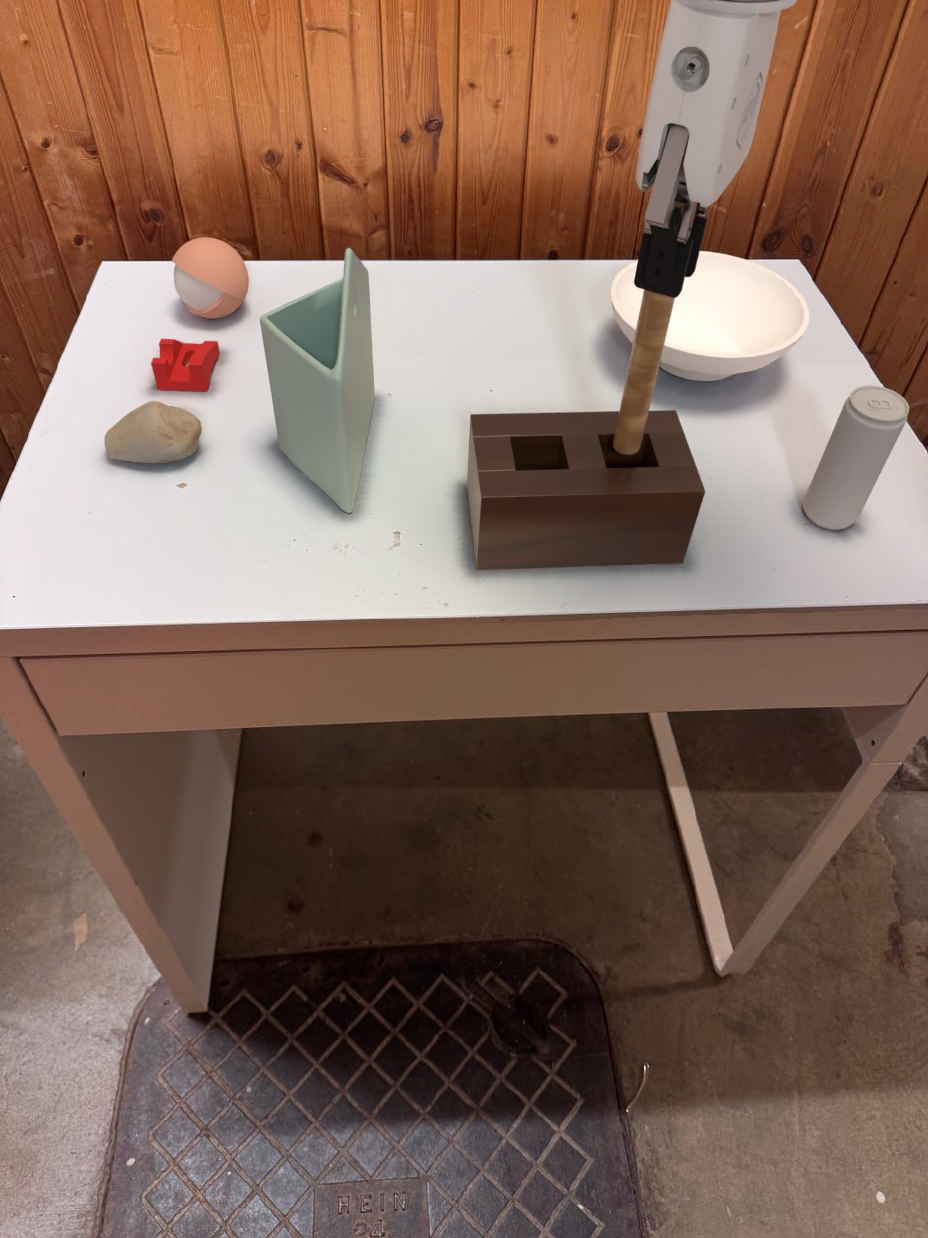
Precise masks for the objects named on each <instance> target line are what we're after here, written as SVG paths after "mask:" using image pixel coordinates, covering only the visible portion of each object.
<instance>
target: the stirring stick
mask: <svg viewBox="0 0 928 1238" xmlns="http://www.w3.org/2000/svg"><path fill="white" fill-rule="evenodd" d="M684 206H685V204H684V203H680V202H677V201H674V207H678V208H681V211H682V215H683V211H684ZM674 300H675V298H672V297H669V296H665V295H662V294H658V293H655V292H651V291H648V290H644V292H643V297H642V302H641V307H640V312H639V317H638V322H637V327H636V332H635V337H634V342H633V344H632V347H631V352H630V358H629V361H628V367H627V372H626V377H625V382H624V387H623V392H622V397H621V401H620V407H619V410H618V411H619V416H618V421H617V426H616V431H615V436H614V441H613V447H614V449H615V450H616V451H617V452H619V453H621V454H625V455H632V454H635V453H637V452H638V451H639V450H640V447H641V443H642V439H643V434H644V430H645V426H646V421H647V417H648V413H649V411H650V407H651V404H652V403H651V402H652V399H653V395H654V390H655V386H656V382H657V379H658V378H657V377H658V373H659V369H660V367H659V365H660V361H661V357H662V352H663V348H664V344H665V339H666V335H667V331H668V326H669V322H670V318H671V313H672V309H673V305H674Z"/></svg>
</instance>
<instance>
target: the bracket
mask: <svg viewBox="0 0 928 1238" xmlns="http://www.w3.org/2000/svg"><path fill="white" fill-rule="evenodd" d="M158 346H159V357H152V360H151V362H150V366H151V369H152V374H153V377H154V381H155V384H156V389H157V391H178V392H179V391H180V392H200V393H201V392H204V393H205V392H206V393H207V392H208V391H209V389H210V385H211V382H210V381H211V380H210V379H211V374H212V373H213V372H212V371H213V369H214V366H215V362H218V361H219V358H220V354H221V352H220V348H219V342H218V340H203V342H201V343H195V342H193V343H192V342H191V343H189V342H182V341H179V340H177V339H175V338H160V339H159V343H158Z"/></svg>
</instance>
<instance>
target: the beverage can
mask: <svg viewBox="0 0 928 1238" xmlns="http://www.w3.org/2000/svg"><path fill="white" fill-rule="evenodd" d="M909 412H910V406H909V403H908V401H907V400H906V399H905V398H904V397H903V396H902V395H901V394H900V393H898V392H897V391H894V390H893V389H890V388H887V387H884V386H880V385H871V384H870V385H862V386H858V387H856V388H854V389H853V390H852V391H851V392H850V393H849V396H848V397H847V399H845V401H844V403H843V406H842V409H841V410H840V413H839V415H838V418H837V420H836V423H835V425H834V428H833V430H832V432H831V434H830V437H829V439H828V441H827V444H826V446H825V449H824V450H823V453H822V455H821V458H820V460H819V463H818V465H817V468H816V470H815V472H814V474H813V477H812V478H811V482H810V483H809V487H808V489H807V491H806V494H805V495H804V498H803V503H802V507H803V511H804V513H805V515H806V516H807V518H808V519H809V520H810V521H811V523H814V524H815V525H816V526H818V527H821V528H823V529H827V530H832V531H838V530H843V529H847V528H848V527H850V526H852V525H854V524H855V523H856V522H857V521H858V520H859V517H860V515H861V514H862V511H863V509H864V508H865V505H866V503H867V502H868V499H869V498H870V495H871V493H872V491H873V489H874V487H875V485H876V483H877V482H878V479H879V478H880V476H881V473H882V471H883V469H884V467H885V465H886V463H887V461H888V460H889V457H890V455H891V454H892V451H893V449H894V447H895V445H896V443H897V441H898V439H899V437H900V435H901V433H902V431H903V429H904V427H905V425H906V423H907V420H908V414H909Z"/></svg>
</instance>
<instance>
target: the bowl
mask: <svg viewBox="0 0 928 1238" xmlns="http://www.w3.org/2000/svg"><path fill="white" fill-rule="evenodd" d="M637 263H638V259H636V260H634V261H632V262H629V263H627V265H625V266H624V267H623V268H622V269H620V270H618V273H617V274H616V275H615V276H614V278H613V279H612V282H611V286H610V291H609V292H610V304H611V309H612V314H613V316H614V319H615V320H616V323H617V326H619V328H620V330H621V331H622V333H623V335H624V336H625V337H626V338H627V339H628V340H629V342H630V343H631V344H632V345H633V342H634V337H635V332H636V327H637V322H638V317H639V312H640V307H641V302H642V297H643V292H644V289H640V288H638V287H636V286H635V284H634V278H635V273H636V268H637ZM809 324H810V311H809V306H808V304H807V300H805V298H804V296H803V295H802V294H801V292H800V291H799V290H798V289H797V288H796V286H794V285H793V284H792V283H791V282H790V281H788V280H787V279H786V278H784V277H782V275H780V274H778V273H777V272H775V271H773V270H771V269H769V268H767V267H765V266H763V265H761V264H758V263H756V262H753V261H750V260H747V259H745V258H741V257H739V256H735V255H730V254H727V253H719V252H713V251H706V250H700V252H699V257H698V261H697V265H696V269H695V272H694V273H693V275H692V276H691V277H685V279H684V283H683V288H682V291H681V293H680V294H679V296H678V297H676V298H675V300H674V305H673V309H672V313H671V318H670V322H669V326H668V331H667V335H666V339H665V344H664V348H663V352H662V357H661V361H660V365H659V368H661V370H664V371H665V372H667V373H669V374H671V375H673V376H676V377H679V378H682V379H685V380H691V381H695V382H711V381H712V382H715V381H719V380H723V379H727V378H729V377H731V376H733V375H736V374H742V373H748V372H753V371H756V370H759V369H761V368H765V367H766V366H768V365H770V364H772V363H773V362H775V361H776V360H778V359H779V358H781V357H783V356H785V355H786V354H787V353H788V352H789V351H790V350H791V349H792V348H794V346H796V344H797V343H798V342H799V340H801V339H802V338H803V336H804V334H805V333H806V330H807V328H808V325H809Z"/></svg>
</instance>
